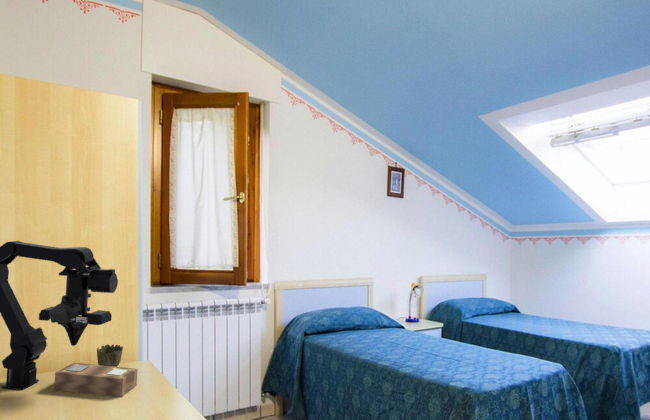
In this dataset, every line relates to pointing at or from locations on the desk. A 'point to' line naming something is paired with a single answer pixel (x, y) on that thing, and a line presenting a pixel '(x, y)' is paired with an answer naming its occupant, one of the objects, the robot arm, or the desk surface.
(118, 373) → the sage peg
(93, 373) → the walnut bar
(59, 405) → the desk surface
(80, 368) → the steel peg
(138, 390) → the desk surface
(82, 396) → the desk surface
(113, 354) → the cup
